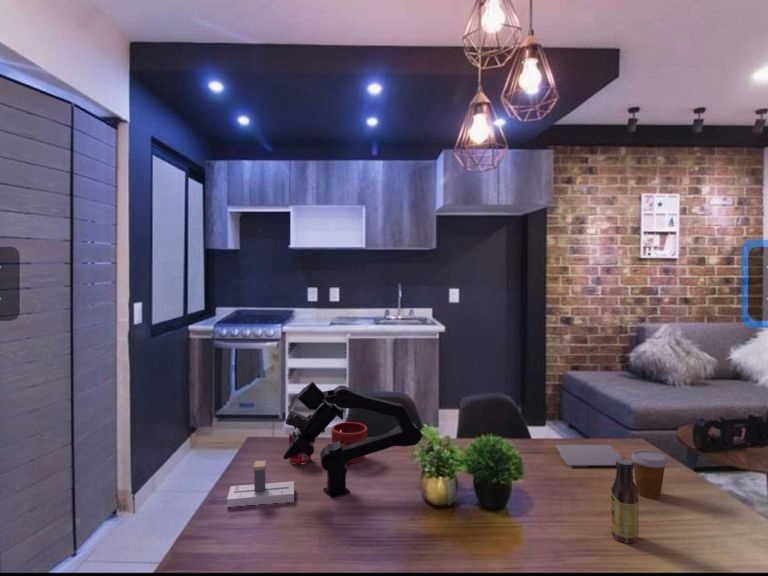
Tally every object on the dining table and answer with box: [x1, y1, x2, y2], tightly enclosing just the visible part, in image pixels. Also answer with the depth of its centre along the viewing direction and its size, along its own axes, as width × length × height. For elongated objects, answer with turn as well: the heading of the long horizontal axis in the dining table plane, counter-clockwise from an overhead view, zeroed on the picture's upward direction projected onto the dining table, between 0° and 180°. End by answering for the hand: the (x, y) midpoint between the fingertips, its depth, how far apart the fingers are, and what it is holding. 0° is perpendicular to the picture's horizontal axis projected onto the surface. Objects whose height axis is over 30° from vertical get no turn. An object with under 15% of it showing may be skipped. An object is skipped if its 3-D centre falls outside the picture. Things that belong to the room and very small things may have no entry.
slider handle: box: [253, 460, 267, 492], centre depth 146 cm, size 3×5×8 cm
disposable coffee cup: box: [630, 449, 668, 500], centre depth 148 cm, size 10×10×12 cm
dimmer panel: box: [226, 481, 295, 508], centre depth 146 cm, size 19×9×3 cm, turn 100°
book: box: [554, 444, 624, 467], centre depth 176 cm, size 15×23×4 cm, turn 89°
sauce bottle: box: [610, 458, 639, 544], centre depth 123 cm, size 7×6×20 cm
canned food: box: [288, 428, 312, 464], centre depth 176 cm, size 8×8×11 cm
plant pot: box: [331, 421, 368, 464], centre depth 177 cm, size 13×13×12 cm
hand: (284, 458), depth 147 cm, fingers closed
